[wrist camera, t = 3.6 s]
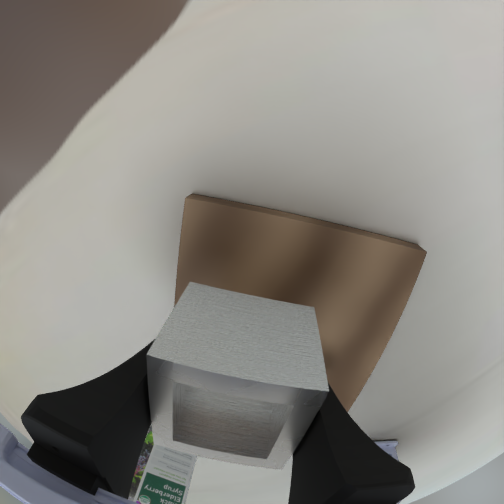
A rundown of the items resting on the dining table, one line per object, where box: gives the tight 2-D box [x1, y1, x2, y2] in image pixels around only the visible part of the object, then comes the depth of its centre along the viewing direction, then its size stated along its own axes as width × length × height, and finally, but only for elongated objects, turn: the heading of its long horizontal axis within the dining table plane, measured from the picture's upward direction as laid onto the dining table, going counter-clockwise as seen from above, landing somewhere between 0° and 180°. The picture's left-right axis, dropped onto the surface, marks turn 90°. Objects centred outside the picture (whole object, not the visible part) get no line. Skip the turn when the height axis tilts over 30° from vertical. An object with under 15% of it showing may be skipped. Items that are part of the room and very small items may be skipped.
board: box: [174, 194, 427, 412], centre depth 21 cm, size 16×16×2 cm
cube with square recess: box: [147, 282, 329, 469], centre depth 11 cm, size 6×6×5 cm
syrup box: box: [128, 425, 197, 504], centre depth 22 cm, size 6×6×14 cm
